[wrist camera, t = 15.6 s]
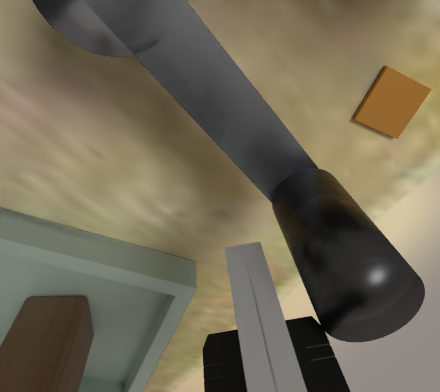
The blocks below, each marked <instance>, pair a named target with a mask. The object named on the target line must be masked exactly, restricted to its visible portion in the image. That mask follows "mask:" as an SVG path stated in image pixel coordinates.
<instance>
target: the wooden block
mask: <svg viewBox="0 0 440 392" xmlns="http://www.w3.org/2000/svg"><path fill="white" fill-rule="evenodd" d="M93 337H94V331H93V325H92V319H91V314H90V308H89V302H88V298H87V297H85V296H32V297H29V298H27V299H26V300H25V302H24V304H23V305H22V307H21V309H20V311H19V313H18V315H17V316H16V318H15V320H14V322H13V324H12V326H11V327H10V329H9V331H8V333H7V335H6V337H5V338H4V340H3V342H2V344H1V346H0V392H78V390H79V387H80V383H81V380H82V376H83V373H84V369H85V365H86V362H87V358H88V355H89V351H90V348H91V344H92V340H93Z"/></svg>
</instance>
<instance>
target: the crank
mask: <svg viewBox="0 0 440 392" xmlns="http://www.w3.org/2000/svg"><path fill="white" fill-rule="evenodd" d="M33 2H34V4H35V5H36V7H37V9H38V10H39V11H40V13H41V14H42V15H43V17H44V18H45V19H46V20H47V22H48V23H49V24H50V25H51V26H52V27H53V28H54V29H55V30H56V31H57V32H58V33H60V34H61V35H62V36H63V37H65V38H66V39H67V40H69V41H70V42H72V43H73V44H75V45H77V46H79V47H80V48H82V49H85V50H87V51H90V52H92V53H96V54H100V55H105V56H112V57H123V56H130V55H134V56H135V57H136V58H137V59H138V60H139V61H140V62H141V63H142V64H143V65H144V66H145V67H146V68H147V70H148V71H149V72H150V73H151V74H152V75H153V76H154V77H155V78H156V79H157V80H158V81H159V82H160V84H161V85H162V86H163V87H164V88H165V89H166V90H167V91H168V92H169V93H170V94H171V95H172V96H173V97H174V99H175V100H176V101H177V102H178V103H179V104H180V105H181V106H182V107H183V108H184V109H185V110H186V111H187V112H188V114H189V115H190V116H191V117H192V118H193V119H194V120H195V121H196V122H197V123H198V124H199V125H200V126H201V127H202V129H203V130H204V131H205V132H206V133H207V134H208V135H209V136H210V137H211V138H212V139H213V140H214V141H215V142H216V144H217V145H218V146H219V147H220V148H221V149H222V150H223V151H224V152H225V153H226V154H227V155H228V156H229V158H230V159H231V160H232V161H233V162H234V163H235V164H236V165H237V166H238V167H239V168H240V169H241V170H242V171H243V173H244V174H245V175H246V176H247V177H248V178H249V179H250V180H251V181H252V182H253V183H254V184H255V185H256V186H257V188H258V189H259V190H260V191H261V192H262V193H263V194H264V195H265V196H266V197H267V198H268V199H269V200H270V201H271V203H272V207H273V211H274V214H275V216H276V219H277V221H278V223H279V226H280V228H281V231H282V233H283V235H284V238H285V240H286V243H287V245H288V247H289V250H290V252H291V255H292V257H293V259H294V262H295V264H296V267H297V269H298V271H299V274H300V276H301V279H302V281H303V283H304V286H305V288H306V290H307V293H308V295H309V298H310V300H311V303H312V305H313V307H314V310H315V312H316V315H317V317H318V319H319V322H320V324H321V326H322V328H323V330H324V331H325V332H326V333H327V334H329V335H330V336H332V337H334V338H336V339H338V340H342V341H346V342H365V341H371V340H375V339H379V338H382V337H384V336H387V335H389V334H391V333H393V332H395V331H397V330H398V329H400V328H401V327H403V326H404V325H406V324H407V323H408V322H409V321H410V320H411V319H412V318H413V317H414V316H415V315H416V313H417V312H418V311H419V309H420V307H421V305H422V303H423V300H424V296H425V289H424V284H423V282H422V280H421V278H420V277H419V276H418V275H417V273H416V272H415V271H414V270H413V269H412V268H411V266H410V265H409V264H408V263H407V262H406V261H405V259H404V258H403V257H402V256H401V255H400V253H399V252H398V251H397V250H396V249H395V248H394V246H393V245H392V244H391V243H390V242H389V240H388V239H387V238H386V237H385V236H384V235H383V233H382V232H381V231H380V230H379V229H378V228H377V226H376V225H375V224H374V223H373V222H372V220H371V219H370V218H369V217H368V216H367V215H366V213H365V212H364V211H363V210H362V209H361V208H360V206H359V205H358V204H357V203H356V202H355V201H354V199H353V198H352V197H351V196H350V195H349V193H348V192H347V191H346V190H345V189H344V188H343V186H342V185H341V184H340V183H339V182H338V181H337V179H336V178H335V177H334V176H333V175H332V174H330V173H329V172H327V171H325V170H322V169H318V167H317V166H316V165H315V163H314V162H313V161H312V160H311V158H310V157H309V156H308V155H307V153H306V152H305V151H304V150H303V148H302V147H301V146H300V144H299V143H298V142H297V141H296V139H295V138H294V137H293V136H292V134H291V133H290V132H289V131H288V129H287V128H286V127H285V125H284V124H283V123H282V122H281V120H280V119H279V118H278V117H277V115H276V114H275V113H274V112H273V110H272V109H271V108H270V106H269V105H268V104H267V103H266V101H265V100H264V99H263V98H262V96H261V95H260V94H259V92H258V91H257V90H256V89H255V87H254V86H253V85H252V84H251V82H250V81H249V80H248V79H247V77H246V76H245V75H244V73H243V72H242V71H241V70H240V68H239V67H238V66H237V65H236V63H235V62H234V61H233V60H232V58H231V57H230V56H229V54H228V53H227V52H226V51H225V49H224V48H223V47H222V46H221V44H220V43H219V42H218V41H217V39H216V38H215V37H214V35H213V34H212V33H211V32H210V30H209V29H208V28H207V27H206V25H205V24H204V23H203V22H202V20H201V19H200V18H199V16H198V15H197V14H196V13H195V11H194V10H193V9H192V8H191V6H190V5H189V4H188V2H187V0H33Z"/></svg>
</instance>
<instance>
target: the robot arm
mask: <svg viewBox="0 0 440 392" xmlns="http://www.w3.org/2000/svg"><path fill="white" fill-rule="evenodd" d="M225 253H226V259H227V266H228V272H229V278H230V285H231V291H232V297H233V304H234V310H235V316H236V323H237V329H238V330H232V331H226V332H220V333H214V334H208V336H207V339H206V342H205V344H204V347H203V366H204V388H205V392H350V390H349V387H348V385H347V383H346V380H345V378H344V376H343V373H342V371H341V369H340V366H339V364H338V361H337V359H336V358H335V355H334V352H333V350H332V347H331V346H330V343H329V340H328V338H327V336H326V333H325V331H324V330H323V328H322V326H321V325H320V324H319V323H318V322H317V321H316V320H315V319H314V318H313V317H312V316H309V317H303V318H297V319H292V320H285V319H284V316H283V313H282V310H281V307H280V303H279V300H278V297H277V294H276V291H275V287H274V284H273V281H272V278H271V275H270V272H269V268H268V265H267V262H266V259H265V256H264V252H263V249H262V246H261V243H260V242H256V243H250V244H244V245H238V246H232V247H226V248H225Z"/></svg>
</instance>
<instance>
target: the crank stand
mask: <svg viewBox="0 0 440 392" xmlns="http://www.w3.org/2000/svg"><path fill="white" fill-rule="evenodd" d="M430 91H431V89H430V88H428V87H426V86H424V85H422V84H420V83H418V82H416V81H414V80H412V79H410V78H408V77H406V76H405V75H403V74H401V73H399V72H397V71H395V70H393V69H391V68H389V67H387V66H384V68H383V69H382V71H381V73H380V74H379V76H378V78H377V79H376V81H375V83H374V84H373V86H372V87H371V89H370V91H369V92H368V94H367V96H366V97H365V99H364V100H363V102H362V104H361V105H360V107H359V109H358V110H357V112H356V114H355V115H354V117H353V119H355V120H357V121H359V122H361V123H363V124H365V125H368V126H370V127H372V128H374V129H377V130H379V131H381V132H383V133H385V134H388V135H390V136H392V137H394V138H396V139H398V137H399V136H400V134H401V133H402V131H403V130H404V129H405V127H406V126H407V124H408V123H409V121H410V120H411V118H412V117H413V116H414V114H415V113H416V111H417V110H418V108H419V107H420V105H421V104H422V102H423V101H424V100H425V98H426V97H427V95H428V94H429V92H430Z"/></svg>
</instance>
